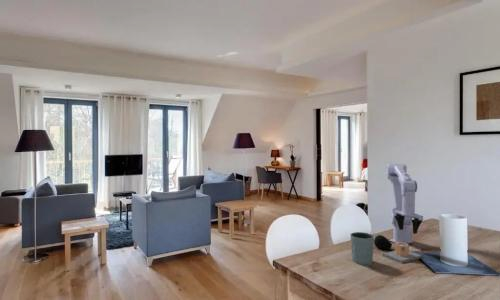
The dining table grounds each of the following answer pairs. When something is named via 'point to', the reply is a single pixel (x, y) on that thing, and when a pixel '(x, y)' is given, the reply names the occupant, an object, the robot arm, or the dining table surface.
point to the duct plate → (401, 259)
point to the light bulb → (383, 243)
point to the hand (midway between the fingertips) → (407, 231)
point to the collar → (402, 249)
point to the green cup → (362, 248)
